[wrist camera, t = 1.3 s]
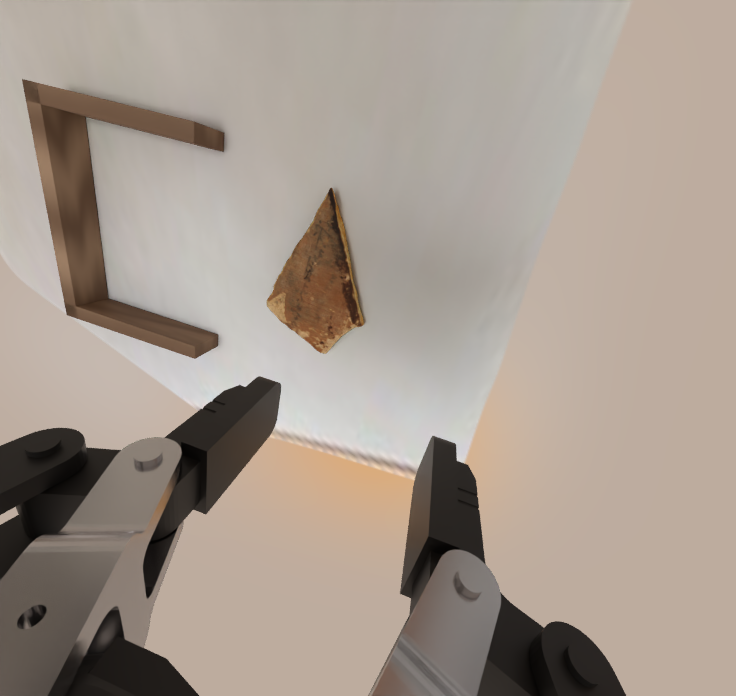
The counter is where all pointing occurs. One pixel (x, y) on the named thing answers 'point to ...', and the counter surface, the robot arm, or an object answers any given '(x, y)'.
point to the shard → (319, 283)
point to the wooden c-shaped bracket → (79, 211)
